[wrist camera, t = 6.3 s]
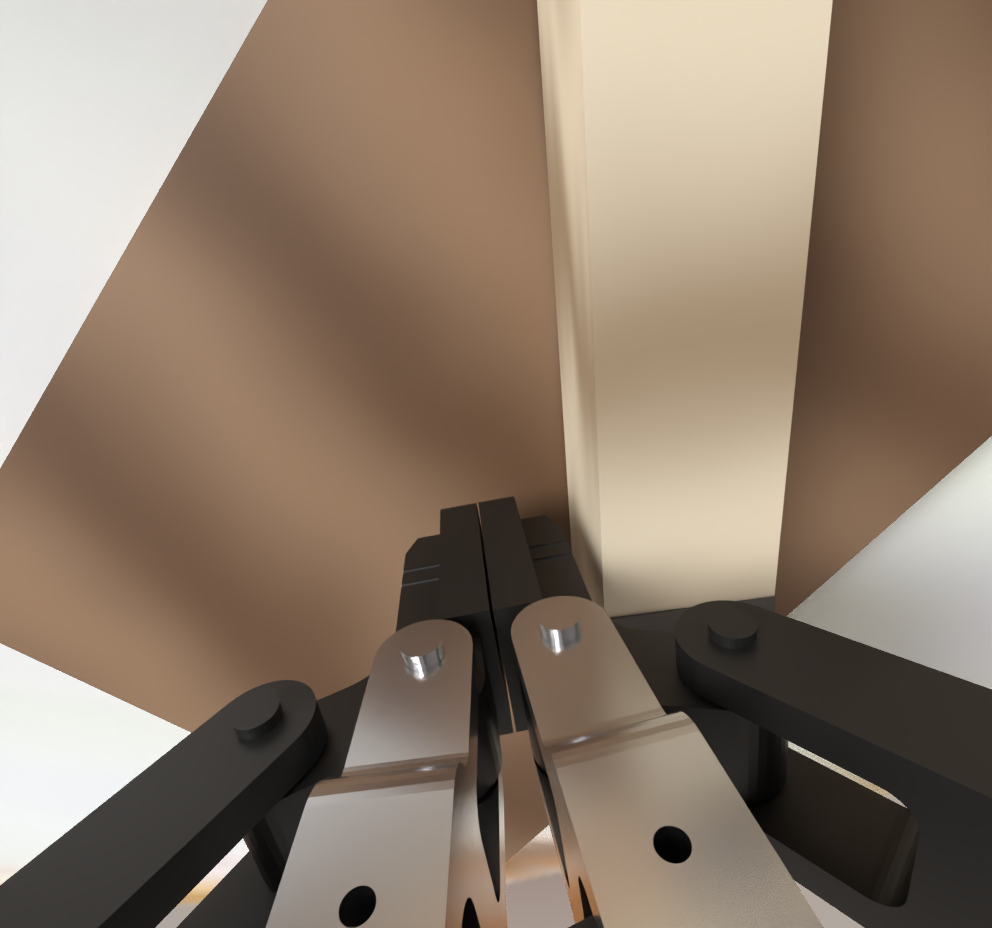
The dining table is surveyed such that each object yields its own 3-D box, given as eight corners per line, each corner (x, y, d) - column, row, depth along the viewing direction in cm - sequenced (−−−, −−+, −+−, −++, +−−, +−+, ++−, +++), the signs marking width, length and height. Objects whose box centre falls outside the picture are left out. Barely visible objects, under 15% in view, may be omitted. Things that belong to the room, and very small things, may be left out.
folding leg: (518, -280, 8) (568, -675, 4) (732, -300, 8) (938, -701, 4) (574, 593, 13) (614, 711, 10) (700, 576, 13) (782, 688, 10)
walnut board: (587, -435, 9) (669, -853, 5) (1078, 265, 13) (1283, 272, 10) (-8, 557, 14) (-148, 653, 11) (489, 809, 18) (496, 931, 15)
